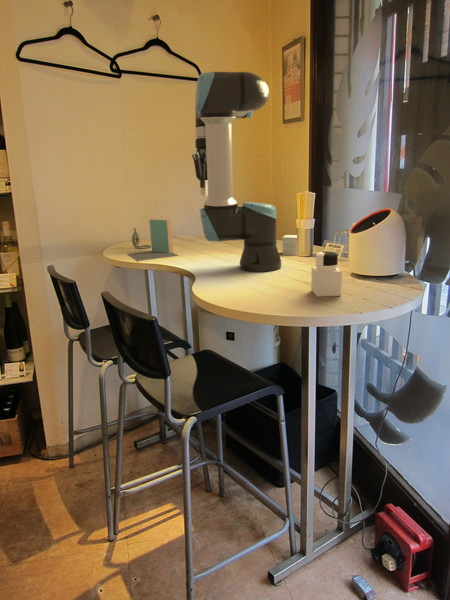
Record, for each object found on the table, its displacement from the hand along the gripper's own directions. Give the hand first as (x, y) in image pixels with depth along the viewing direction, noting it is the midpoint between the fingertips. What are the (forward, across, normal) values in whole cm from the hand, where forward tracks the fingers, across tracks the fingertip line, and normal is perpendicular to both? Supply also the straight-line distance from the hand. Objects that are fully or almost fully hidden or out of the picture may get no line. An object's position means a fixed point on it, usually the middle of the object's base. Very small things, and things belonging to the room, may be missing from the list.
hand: (204, 195), depth 202 cm
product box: (+24, -14, +36) cm, 45 cm away
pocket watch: (+24, +9, -31) cm, 40 cm away
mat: (+26, +19, -13) cm, 34 cm away
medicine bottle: (+32, +31, +76) cm, 88 cm away
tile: (+24, +12, -14) cm, 30 cm away
